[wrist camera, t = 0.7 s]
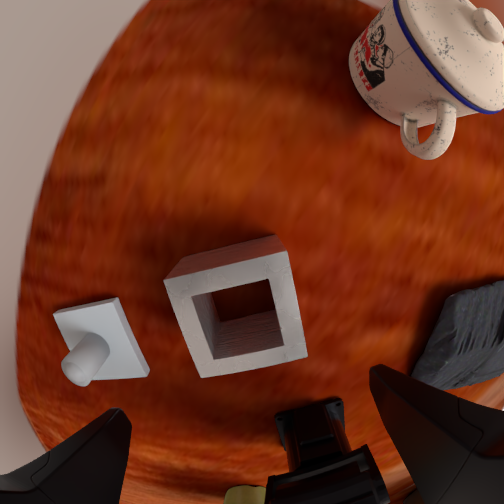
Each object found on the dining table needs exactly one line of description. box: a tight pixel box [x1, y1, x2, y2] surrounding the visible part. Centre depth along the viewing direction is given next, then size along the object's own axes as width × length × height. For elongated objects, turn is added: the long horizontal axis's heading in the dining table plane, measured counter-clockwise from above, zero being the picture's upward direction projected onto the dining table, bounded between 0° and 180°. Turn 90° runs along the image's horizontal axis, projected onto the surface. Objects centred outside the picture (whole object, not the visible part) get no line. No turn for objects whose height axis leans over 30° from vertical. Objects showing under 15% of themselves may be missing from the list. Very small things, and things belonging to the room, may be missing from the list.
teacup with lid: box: [349, 0, 504, 160], centre depth 11 cm, size 12×9×12 cm
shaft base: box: [53, 297, 150, 386], centre depth 18 cm, size 7×7×6 cm
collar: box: [163, 234, 308, 378], centre depth 17 cm, size 7×7×5 cm
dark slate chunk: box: [411, 281, 504, 390], centre depth 20 cm, size 15×22×5 cm
